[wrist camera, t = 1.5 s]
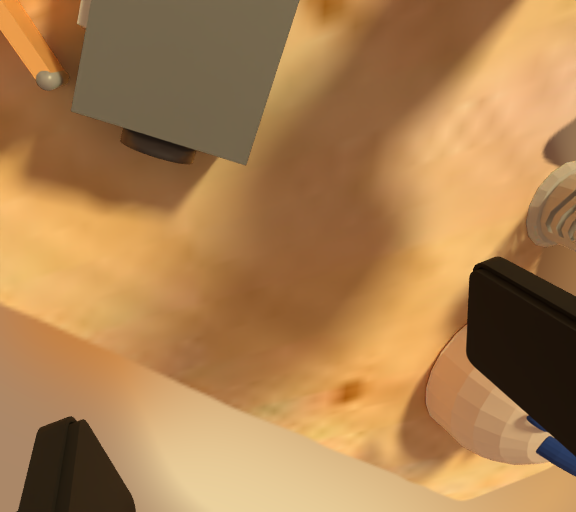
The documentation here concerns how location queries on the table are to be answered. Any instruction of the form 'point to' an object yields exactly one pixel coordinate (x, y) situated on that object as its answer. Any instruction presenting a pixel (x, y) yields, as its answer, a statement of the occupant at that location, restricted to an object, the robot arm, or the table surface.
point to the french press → (554, 209)
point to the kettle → (487, 414)
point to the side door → (31, 46)
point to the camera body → (181, 72)
